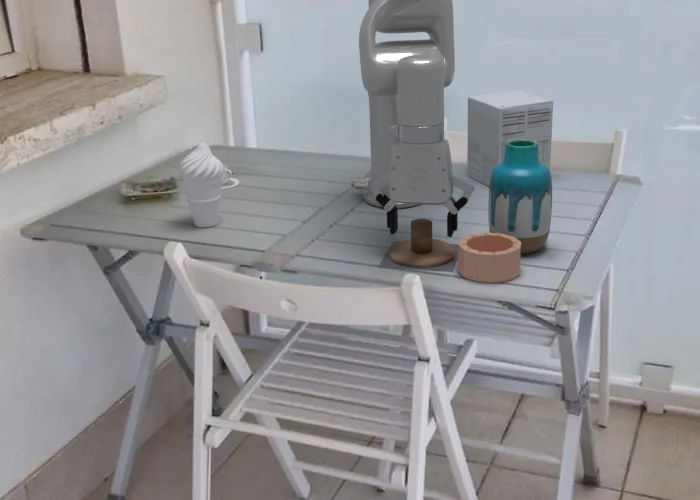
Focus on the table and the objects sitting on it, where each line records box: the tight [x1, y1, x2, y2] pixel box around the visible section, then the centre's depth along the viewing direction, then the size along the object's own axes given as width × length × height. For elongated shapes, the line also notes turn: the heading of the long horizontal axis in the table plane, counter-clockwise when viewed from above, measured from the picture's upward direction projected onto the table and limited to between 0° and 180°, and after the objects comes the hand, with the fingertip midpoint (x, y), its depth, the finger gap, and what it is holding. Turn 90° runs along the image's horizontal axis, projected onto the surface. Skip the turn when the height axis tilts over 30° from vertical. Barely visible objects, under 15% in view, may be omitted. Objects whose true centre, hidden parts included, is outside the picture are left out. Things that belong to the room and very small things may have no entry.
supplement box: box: [466, 89, 554, 187], centre depth 198 cm, size 13×13×18 cm
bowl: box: [457, 232, 522, 284], centre depth 152 cm, size 10×10×5 cm
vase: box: [487, 139, 553, 255], centre depth 159 cm, size 11×11×19 cm
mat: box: [378, 240, 459, 273], centre depth 161 cm, size 12×12×1 cm
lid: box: [388, 218, 455, 268], centre depth 159 cm, size 11×11×6 cm
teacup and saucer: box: [220, 164, 241, 190], centre depth 205 cm, size 9×8×4 cm
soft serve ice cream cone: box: [178, 142, 224, 228], centre depth 178 cm, size 8×8×16 cm
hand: (422, 233), depth 158 cm, fingers open, 9 cm apart
